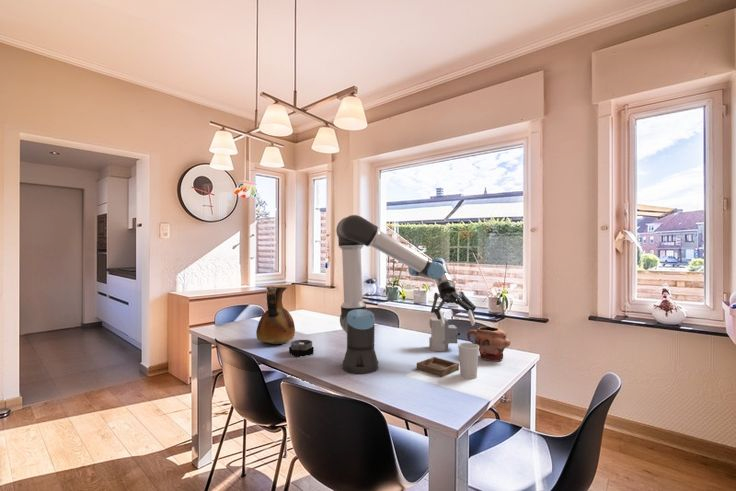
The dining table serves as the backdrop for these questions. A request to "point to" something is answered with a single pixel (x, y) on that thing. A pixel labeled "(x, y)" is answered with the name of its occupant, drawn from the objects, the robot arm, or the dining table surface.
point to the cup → (468, 360)
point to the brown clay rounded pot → (490, 342)
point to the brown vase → (275, 319)
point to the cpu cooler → (301, 348)
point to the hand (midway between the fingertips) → (458, 324)
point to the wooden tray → (437, 366)
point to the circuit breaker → (441, 334)
